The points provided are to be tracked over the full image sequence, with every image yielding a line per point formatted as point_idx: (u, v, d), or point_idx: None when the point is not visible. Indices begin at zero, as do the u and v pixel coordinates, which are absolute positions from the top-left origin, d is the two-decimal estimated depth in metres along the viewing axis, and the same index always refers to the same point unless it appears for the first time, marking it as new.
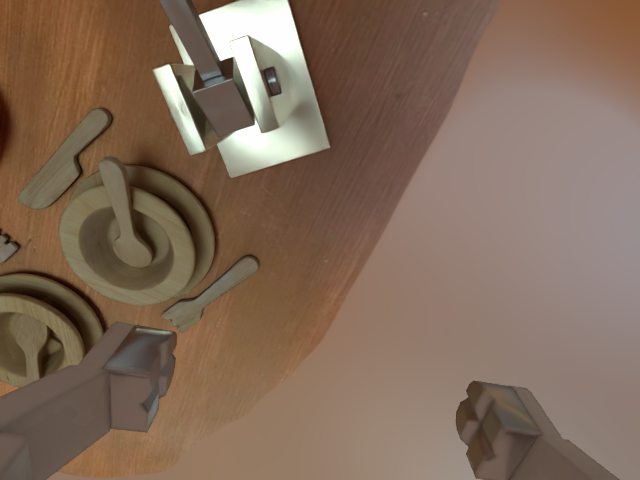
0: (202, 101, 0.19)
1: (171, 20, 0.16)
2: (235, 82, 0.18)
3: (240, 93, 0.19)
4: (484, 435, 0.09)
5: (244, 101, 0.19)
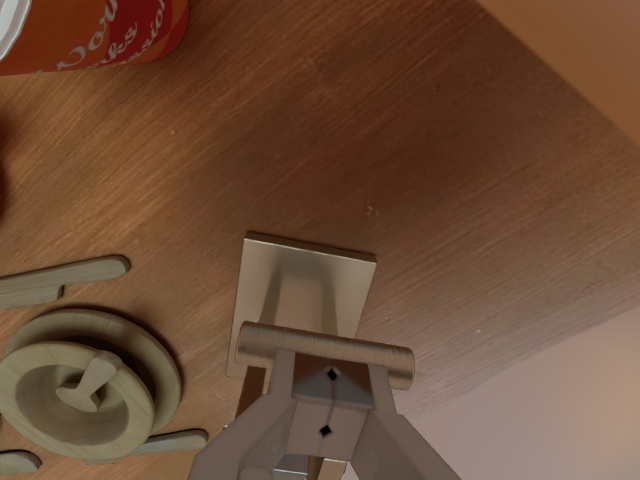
0: None
1: None
2: None
3: None
4: None
5: None
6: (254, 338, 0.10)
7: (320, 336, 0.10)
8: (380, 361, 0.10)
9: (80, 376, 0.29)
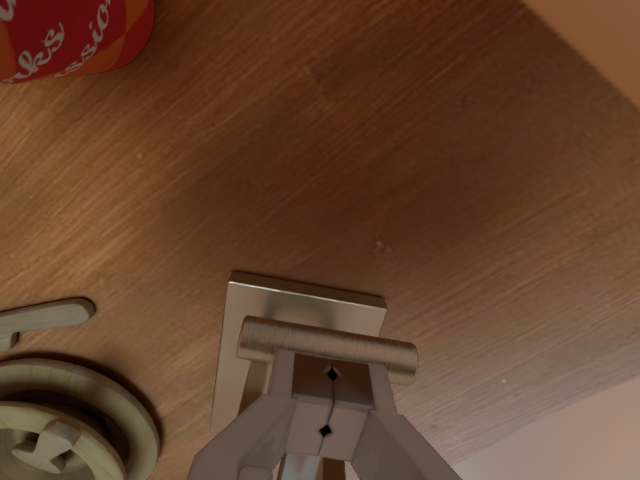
0: None
1: None
2: None
3: None
4: None
5: None
6: (258, 323, 0.10)
7: None
8: (383, 347, 0.10)
9: None
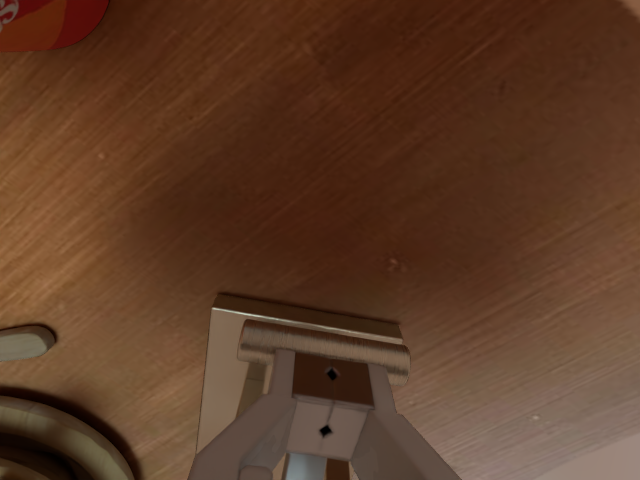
0: None
1: None
2: None
3: None
4: None
5: None
6: (259, 322, 0.11)
7: (318, 331, 0.11)
8: (376, 344, 0.11)
9: None
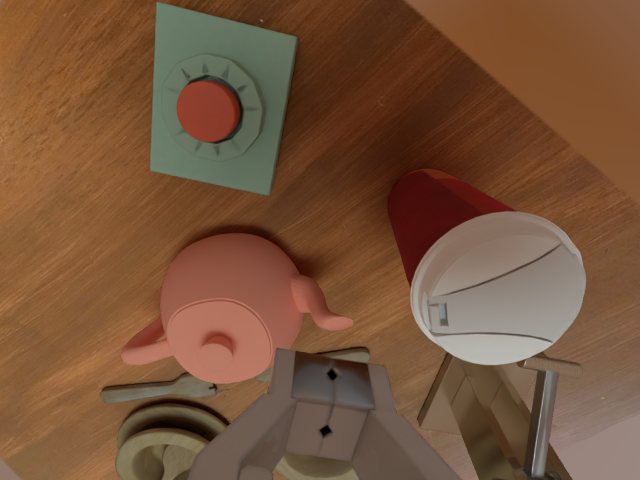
0: None
1: (537, 439, 0.29)
2: None
3: None
4: None
5: None
6: None
7: (544, 357, 0.30)
8: (568, 362, 0.30)
9: None
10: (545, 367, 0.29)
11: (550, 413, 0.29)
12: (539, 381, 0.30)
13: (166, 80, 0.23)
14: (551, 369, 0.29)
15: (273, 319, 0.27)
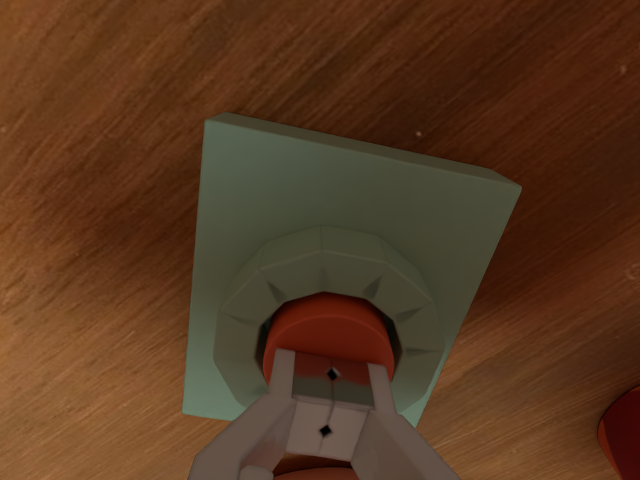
0: None
1: None
2: None
3: None
4: None
5: None
6: None
7: None
8: None
9: None
10: None
11: None
12: None
13: (230, 303, 0.10)
14: None
15: None
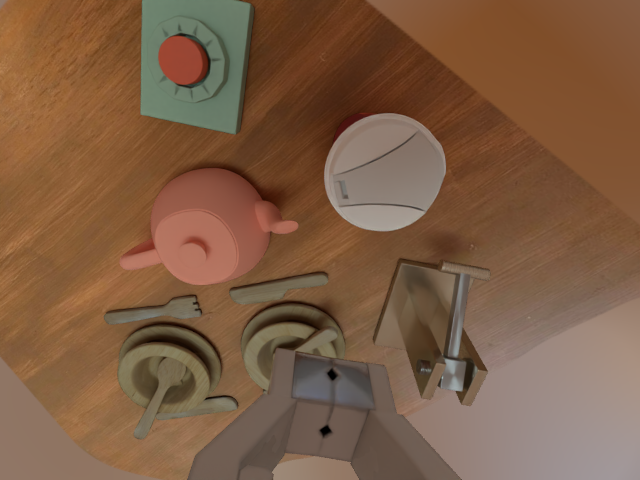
0: (446, 365, 0.35)
1: (453, 327, 0.36)
2: (465, 364, 0.35)
3: (464, 371, 0.35)
4: None
5: (463, 376, 0.35)
6: None
7: None
8: (479, 267, 0.37)
9: (286, 345, 0.47)
10: (459, 270, 0.36)
11: (463, 307, 0.36)
12: (455, 283, 0.37)
13: (150, 37, 0.31)
14: (464, 272, 0.36)
15: (238, 229, 0.34)
